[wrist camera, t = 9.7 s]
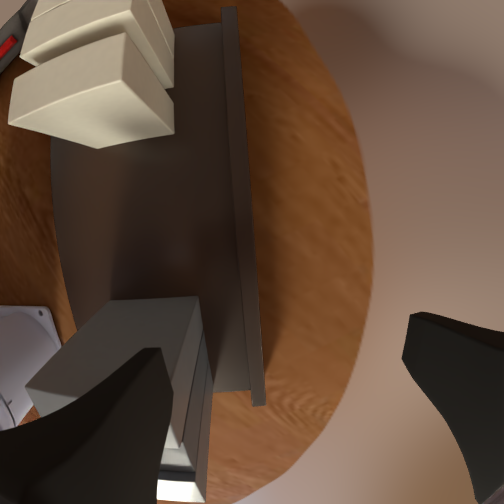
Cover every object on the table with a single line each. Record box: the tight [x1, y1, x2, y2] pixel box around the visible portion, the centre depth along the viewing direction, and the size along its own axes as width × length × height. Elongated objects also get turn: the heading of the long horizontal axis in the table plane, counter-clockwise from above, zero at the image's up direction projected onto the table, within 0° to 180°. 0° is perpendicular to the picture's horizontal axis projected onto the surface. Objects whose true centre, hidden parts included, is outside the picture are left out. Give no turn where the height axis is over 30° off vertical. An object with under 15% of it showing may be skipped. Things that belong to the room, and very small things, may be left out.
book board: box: [51, 6, 266, 407], centre depth 16 cm, size 14×27×3 cm, turn 4°
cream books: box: [20, 0, 175, 89], centre depth 10 cm, size 6×4×9 cm
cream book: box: [8, 32, 175, 149], centre depth 11 cm, size 6×2×9 cm, turn 94°
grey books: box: [25, 296, 213, 502], centre depth 13 cm, size 6×7×10 cm
